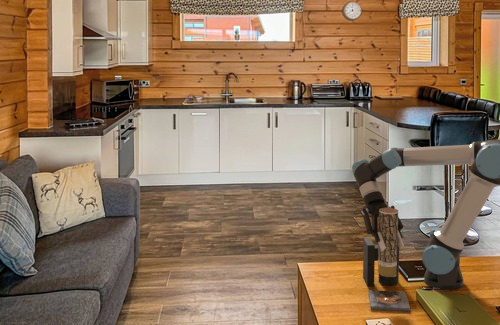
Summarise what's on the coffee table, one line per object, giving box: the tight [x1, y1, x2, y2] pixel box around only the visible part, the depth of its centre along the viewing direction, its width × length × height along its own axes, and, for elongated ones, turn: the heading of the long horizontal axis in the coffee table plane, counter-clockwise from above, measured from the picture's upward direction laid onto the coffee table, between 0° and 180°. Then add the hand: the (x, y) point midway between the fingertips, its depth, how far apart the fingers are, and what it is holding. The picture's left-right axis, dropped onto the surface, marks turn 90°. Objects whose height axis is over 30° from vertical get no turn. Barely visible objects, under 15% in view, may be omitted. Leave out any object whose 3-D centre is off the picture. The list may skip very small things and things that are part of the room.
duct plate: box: [368, 289, 411, 313], centre depth 187 cm, size 14×14×2 cm
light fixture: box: [362, 237, 400, 288], centre depth 204 cm, size 10×14×18 cm
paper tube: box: [377, 208, 399, 277], centre depth 183 cm, size 7×7×25 cm
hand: (392, 248), depth 180 cm, fingers closed on paper tube, 7 cm apart
